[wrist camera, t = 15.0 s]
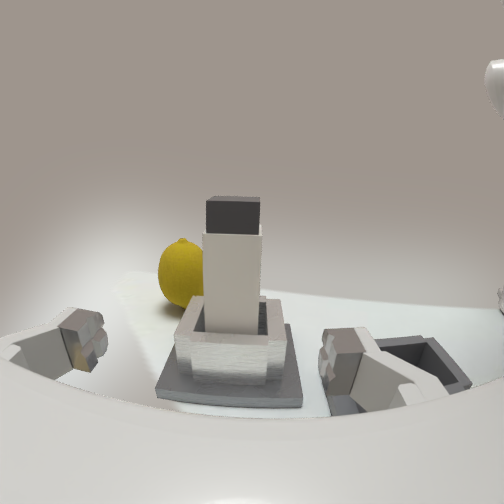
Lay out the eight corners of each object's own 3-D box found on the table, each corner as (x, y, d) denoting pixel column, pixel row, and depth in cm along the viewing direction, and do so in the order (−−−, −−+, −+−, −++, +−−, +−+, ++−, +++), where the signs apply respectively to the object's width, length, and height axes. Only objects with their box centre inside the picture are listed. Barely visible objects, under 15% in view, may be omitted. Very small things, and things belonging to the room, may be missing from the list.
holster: (421, 361, 21) (435, 323, 19) (472, 436, 11) (500, 395, 10) (319, 371, 21) (328, 330, 20) (346, 474, 11) (368, 436, 10)
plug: (256, 342, 23) (262, 197, 20) (255, 368, 20) (263, 202, 16) (213, 339, 23) (211, 195, 20) (207, 365, 20) (202, 201, 16)
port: (288, 332, 26) (292, 290, 25) (301, 407, 17) (311, 358, 16) (186, 327, 26) (183, 285, 25) (157, 397, 17) (146, 348, 16)
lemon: (181, 294, 34) (178, 230, 32) (219, 305, 32) (219, 236, 29) (151, 311, 29) (144, 240, 27) (190, 326, 27) (186, 248, 25)
